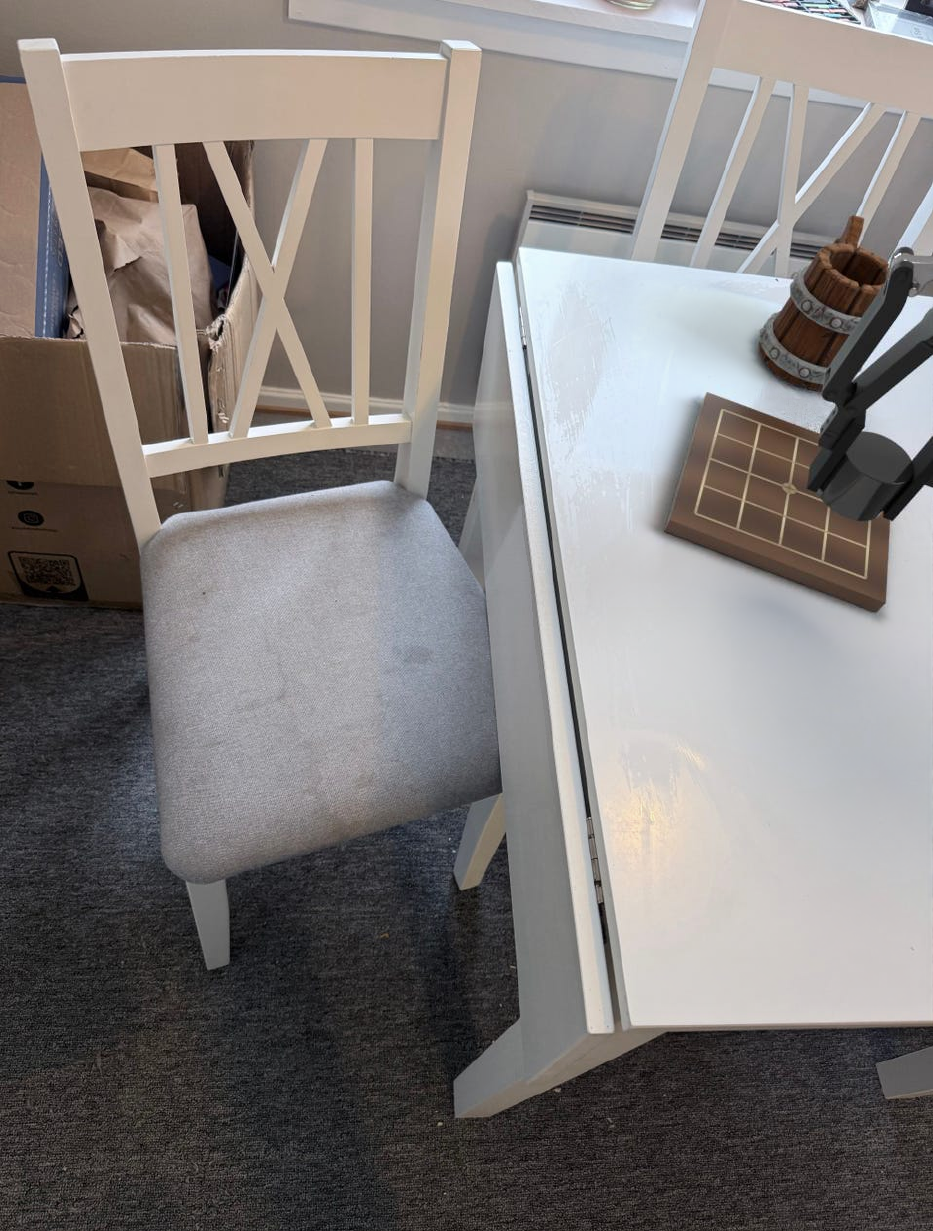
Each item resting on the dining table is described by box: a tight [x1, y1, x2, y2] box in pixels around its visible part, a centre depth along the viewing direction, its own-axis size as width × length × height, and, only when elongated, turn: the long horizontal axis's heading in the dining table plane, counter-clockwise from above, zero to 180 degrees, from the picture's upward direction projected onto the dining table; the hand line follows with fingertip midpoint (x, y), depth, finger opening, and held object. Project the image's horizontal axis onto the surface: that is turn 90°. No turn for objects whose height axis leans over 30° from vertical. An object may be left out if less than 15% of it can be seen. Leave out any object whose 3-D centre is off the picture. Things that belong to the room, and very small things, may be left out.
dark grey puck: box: [817, 430, 914, 521], centre depth 61 cm, size 5×5×4 cm
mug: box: [758, 214, 890, 392], centre depth 91 cm, size 12×14×15 cm
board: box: [664, 391, 891, 613], centre depth 80 cm, size 20×20×2 cm
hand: (850, 492), depth 63 cm, fingers closed on dark grey puck, 5 cm apart
